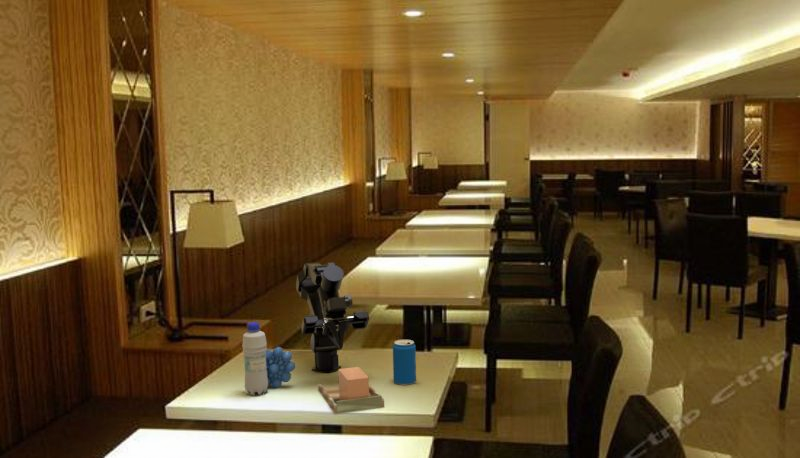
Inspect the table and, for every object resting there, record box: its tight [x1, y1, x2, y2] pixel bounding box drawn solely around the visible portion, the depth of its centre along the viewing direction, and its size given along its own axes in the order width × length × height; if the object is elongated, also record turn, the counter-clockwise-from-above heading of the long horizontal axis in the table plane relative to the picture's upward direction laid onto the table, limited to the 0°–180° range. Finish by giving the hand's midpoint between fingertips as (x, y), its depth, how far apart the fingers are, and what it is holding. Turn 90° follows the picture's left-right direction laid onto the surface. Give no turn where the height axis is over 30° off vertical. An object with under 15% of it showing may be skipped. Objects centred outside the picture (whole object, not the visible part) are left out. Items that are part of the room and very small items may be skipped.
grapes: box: [266, 346, 296, 389], centre depth 213 cm, size 12×7×12 cm, turn 88°
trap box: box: [317, 383, 385, 415], centre depth 202 cm, size 20×13×4 cm, turn 18°
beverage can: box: [392, 339, 417, 386], centre depth 214 cm, size 6×6×12 cm
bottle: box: [241, 321, 269, 396], centre depth 209 cm, size 7×7×20 cm
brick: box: [337, 366, 370, 401], centre depth 198 cm, size 10×6×8 cm, turn 18°
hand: (340, 348), depth 209 cm, fingers closed
